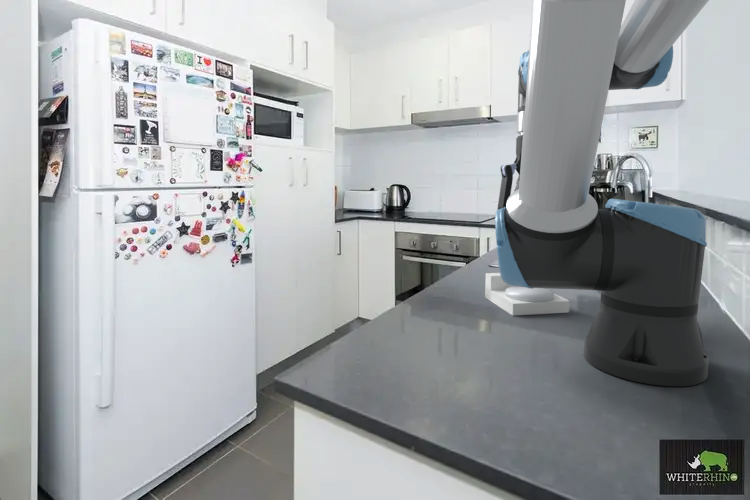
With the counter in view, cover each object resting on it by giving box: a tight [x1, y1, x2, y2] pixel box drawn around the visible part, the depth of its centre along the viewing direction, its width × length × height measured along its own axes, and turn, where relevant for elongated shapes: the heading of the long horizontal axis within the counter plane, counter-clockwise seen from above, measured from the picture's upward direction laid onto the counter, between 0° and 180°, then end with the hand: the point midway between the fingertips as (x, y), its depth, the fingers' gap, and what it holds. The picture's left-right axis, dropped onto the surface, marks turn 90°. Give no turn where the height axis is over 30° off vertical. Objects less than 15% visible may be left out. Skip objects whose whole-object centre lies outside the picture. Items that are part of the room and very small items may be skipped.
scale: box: [484, 272, 571, 317], centre depth 93 cm, size 14×12×6 cm
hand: (531, 248), depth 89 cm, fingers closed on soda can, 7 cm apart
